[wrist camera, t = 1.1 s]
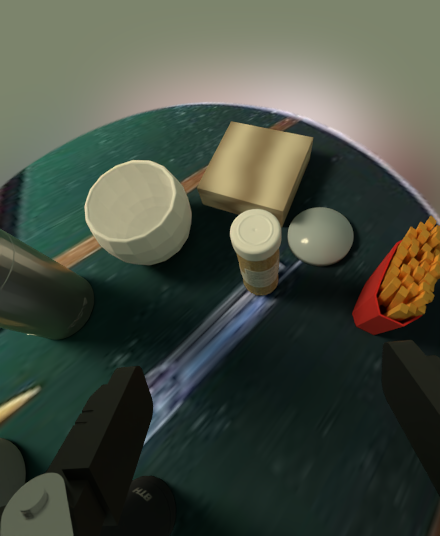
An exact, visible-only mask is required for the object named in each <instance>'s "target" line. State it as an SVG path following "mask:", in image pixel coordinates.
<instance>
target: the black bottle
mask: <svg viewBox="0 0 440 536" xmlns="http://www.w3.org/2000/svg"><path fill="white" fill-rule="evenodd" d="M175 519H176V505H175V501H174V496H173V494H172V492H171V490H170V489H169V487H168V486H167V485H166V484H165V483H164V482H163V481H162V480H161V479H159V478H156V477H154V476H142V477H140V478H137V479H135V480H133V481H132V482H131V485H130V488H129V491H128V494H127V498H126V501H125V504H124V507H123V510H122V513H121V516H120V520H119V523H118V525H117V526H102V529H101V532H100V535H99V536H169V535H170V534H171V532H172V530H173V527H174V523H175Z"/></svg>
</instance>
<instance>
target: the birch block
mask: <svg viewBox="0 0 440 536" xmlns="http://www.w3.org/2000/svg"><path fill="white" fill-rule="evenodd" d="M312 142H313V138H312V137H307V136H302V135H297V134H292V133H287V132H282V131H277V130H272V129H267V128H261V127H256V126H251V125H246V124H241V123H236V122H231V123H230V125H229V127H228V129H227V131H226V133H225V135H224V137H223V138H222V140H221V142H220V144H219V146H218V148H217V150H216V152H215V154H214V156H213V158H212V160H211V162H210V164H209V165H208V167H207V169H206V171H205V173H204V175H203V177H202V179H201V181H200V183H199V185H198V187H197V189H198V192H199V195H200V197H201V200H202V203H203V204H204V205H207V206H211V207H214V208H217V209H221V210H224V211H228V212H231V213H235V214H238V215H240V214H241V213H243V212H245V211H247V210H251V209H262V210H266V211H268V212H270V213H272V214H273V215H274V216H275V217H276V218H277V219H278V221H279V223H280V226H281V227H282V226H283V224H284V222H285V219H286V217H287V214H288V212H289V209H290V207H291V204H292V202H293V199H294V197H295V194H296V192H297V189H298V187H299V184H300V182H301V179H302V177H303V174H304V172H305V170H306V167H307V165H308V162H309V160H310V155H311V149H312Z"/></svg>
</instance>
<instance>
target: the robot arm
mask: <svg viewBox="0 0 440 536" xmlns="http://www.w3.org/2000/svg"><path fill="white" fill-rule="evenodd" d="M93 305H94V293H93V290H92V287H91V285H90V284H89V283H88V281H87V280H85V279H84V278H83V277H81V276H79V275H78V274H76V273H74V272H73V271H71V270H69V269H68V268H66V267H64V266H63V265H61V264H59V263H58V262H56V261H54V260H52V259H51V258H49V257H47V256H46V255H44V254H42V253H41V252H39V251H37V250H35V249H34V248H32V247H30V246H29V245H27V244H25V243H24V242H22V241H20V240H18V239H17V238H15V237H13V236H12V235H10V234H8V233H6V232H5V231H3V230H1V229H0V328H4V329H9V330H13V331H17V332H22V333H26V334H30V335H34V336H39V337H44V338H48V339H53V340H56V339H63V338H67V337H69V336H71V335H73V334H74V333H76V332H77V331H78V330H80V329H81V328H82V327H83V326H84V324H85V323H86V322H87V320H88V319H89V317H90V315H91V312H92V309H93ZM382 387H383V391H384V395H385V397H386V400H387V402H388V404H389V405H390V407H391V409H392V411H393V413H394V414H395V416H396V418H397V420H398V422H399V424H400V425H401V427H402V429H403V431H404V433H405V434H406V436H407V438H408V440H409V442H410V443H411V445H412V447H413V449H414V451H415V452H416V454H417V456H418V458H419V460H420V461H421V463H422V465H423V467H424V469H425V471H426V472H427V474H428V476H429V478H430V480H431V481H432V483H433V485H434V487H435V489H436V490H437V492H438V494H439V496H440V358H439V357H437V356H435V355H430V356H426V355H425V354H424V353H423V352H422V351H421V349H420V348H419V347H418V346H417V345H416V344H415V343H414V342H413V341H412V340H403V341H393V342H385V343H384V344H383V352H382ZM152 415H153V401H152V397H151V394H150V391H149V388H148V385H147V382H146V379H145V376H144V373H143V371H142V368H141V367H140V366H132V367H122V368H117V369H116V370H115V371H114V373H113V375H112V377H111V379H110V381H109V382H108V384H106V385H102V386H101V387H100V388H99V389H98V390H97V391H96V392H95V393H94V394H93V395H92V396H91V397H90V398H89V400H88V401H87V403H86V405H85V407H84V408H83V410H82V414H80V415H79V417H78V419H77V420H76V422H75V425H73V427H72V429H71V431H70V432H69V434H68V436H67V437H66V439H65V441H64V443H63V444H62V446H61V448H60V449H59V451H58V453H57V455H56V456H55V458H54V460H53V461H52V463H51V465H50V467H49V468H48V470H47V472H46V473H45V474H42V475H40V476H37V477H35V478H33V479H32V480H30V481H29V482H27V483H26V484H25V485H23V486H22V487H21V488H20V489H19V490H18V491H17V492H16V493H15V494H14V495H13V497H12V498H11V499H10V501H9V502H8V504H7V505H4V506H2V507H0V536H99V535H100V532H101V529H102V526H117V525H118V523H119V520H120V516H121V513H122V510H123V507H124V504H125V501H126V498H127V494H128V491H129V488H130V485H131V482H132V479H133V476H134V473H135V469H136V466H137V463H138V460H139V457H140V454H141V451H142V447H143V444H144V441H145V438H146V435H147V432H148V429H149V425H150V422H151V419H152Z"/></svg>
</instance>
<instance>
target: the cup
mask: <svg viewBox="0 0 440 536" xmlns="http://www.w3.org/2000/svg"><path fill="white" fill-rule="evenodd" d="M85 217H86V222H87V224H88V226H89V228H90V230H91V232H92V233H93V235H94V237H95V238H96V240H97V241H98V243H99V244H100V246H102V247H103V248H104V249H105V250H106V251H108V252H109V253H110V254H112V255H113V256H115V257H117V258H119V259H121V260H122V261H124V262H128V263H132V264H139V265H153V264H156V263H160V262H163V261H166V260H167V259H169V258H170V257H172V256H173V255H174V254H176V253H177V252H178V251H180V249H181V248H182V246H183V245H184V243H185V242H186V240H187V239H188V236H189V231H190V226H191V218H192V212H191V208H190V204H189V200H188V197H187V195H186V192H185V190H184V188H183V186H182V185H181V184H180V183H179V181H178V180H177V179H176V178H175V177H174V176H173V175H172V174H171V173H170V172H169V171H168V170H167V169H166V168H165V167H164V166H162V165H159V164H157V163H154V162H152V161H141V160H132V161H129V162H126V163H123V164H120V165H117V166H115V167H113V168H112V169H110V170H109V171H107V172H106V173H104V174H103V175H102V176H101V177H100V178H99V179H98V180H97V182H96V183H95V184H94V185H93V187H92V188H91V189H90V192H89V194H88V197H87V200H86V203H85Z"/></svg>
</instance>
